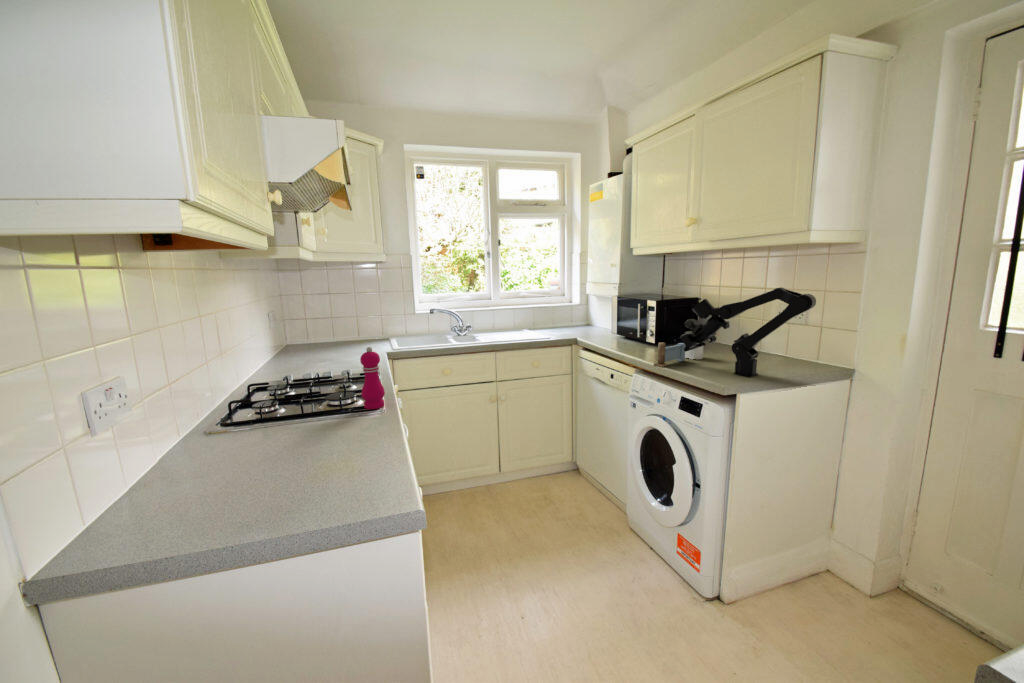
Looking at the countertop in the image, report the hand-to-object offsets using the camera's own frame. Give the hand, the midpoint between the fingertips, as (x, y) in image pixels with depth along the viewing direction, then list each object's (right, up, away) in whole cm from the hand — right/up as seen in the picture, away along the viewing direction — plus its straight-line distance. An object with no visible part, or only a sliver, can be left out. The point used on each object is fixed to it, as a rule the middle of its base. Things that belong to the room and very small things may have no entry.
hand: (685, 350), depth 181 cm
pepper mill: (-121, -18, -44) cm, 130 cm away
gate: (-4, -5, +4) cm, 8 cm away
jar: (+9, -4, +13) cm, 16 cm away
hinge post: (-11, -7, 0) cm, 13 cm away
